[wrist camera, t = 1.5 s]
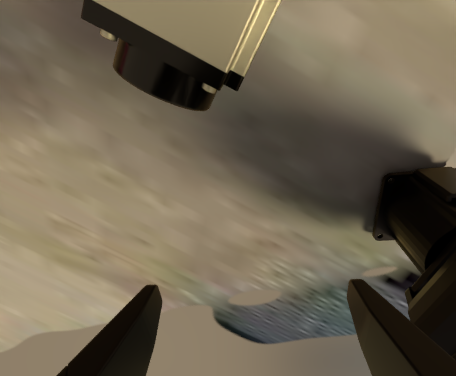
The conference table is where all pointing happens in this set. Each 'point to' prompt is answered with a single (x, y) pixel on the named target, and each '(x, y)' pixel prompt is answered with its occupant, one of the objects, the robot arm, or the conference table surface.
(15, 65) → the conference table surface
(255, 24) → the pneumatic valve
